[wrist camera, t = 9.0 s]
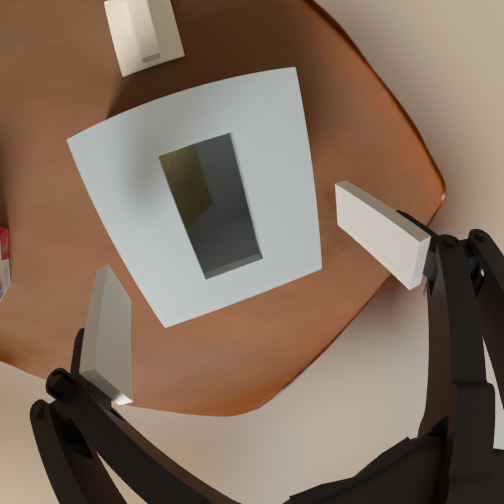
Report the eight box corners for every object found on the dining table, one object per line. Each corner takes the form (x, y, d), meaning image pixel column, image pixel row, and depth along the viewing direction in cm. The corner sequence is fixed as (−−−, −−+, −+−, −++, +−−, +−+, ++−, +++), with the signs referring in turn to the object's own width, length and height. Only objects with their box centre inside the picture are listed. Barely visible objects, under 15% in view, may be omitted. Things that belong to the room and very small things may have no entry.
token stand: (105, 4, 15) (97, -8, 11) (165, -15, 15) (166, -31, 12) (123, 77, 20) (117, 74, 17) (184, 56, 21) (187, 50, 18)
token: (172, 142, 24) (119, 175, 20) (191, 138, 23) (137, 171, 19) (193, 203, 28) (151, 244, 24) (213, 203, 27) (170, 246, 23)
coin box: (105, 120, 22) (66, 139, 12) (241, 75, 23) (295, 66, 14) (159, 251, 31) (164, 327, 21) (271, 210, 33) (321, 268, 23)
